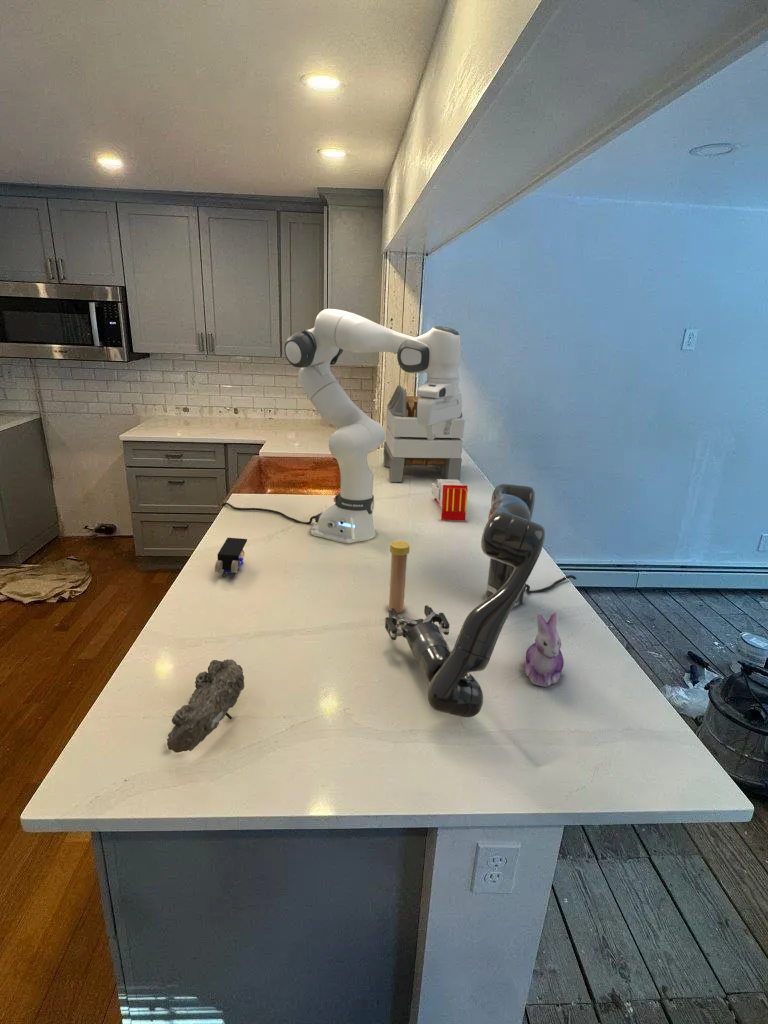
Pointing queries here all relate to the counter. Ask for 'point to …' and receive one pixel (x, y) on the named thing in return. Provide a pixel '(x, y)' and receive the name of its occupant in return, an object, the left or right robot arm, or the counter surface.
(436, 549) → the counter surface
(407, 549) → the lid
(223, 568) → the black toy vehicle
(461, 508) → the toy
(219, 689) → the fossil
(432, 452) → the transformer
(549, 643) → the figurine
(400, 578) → the bottle
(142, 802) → the counter surface
